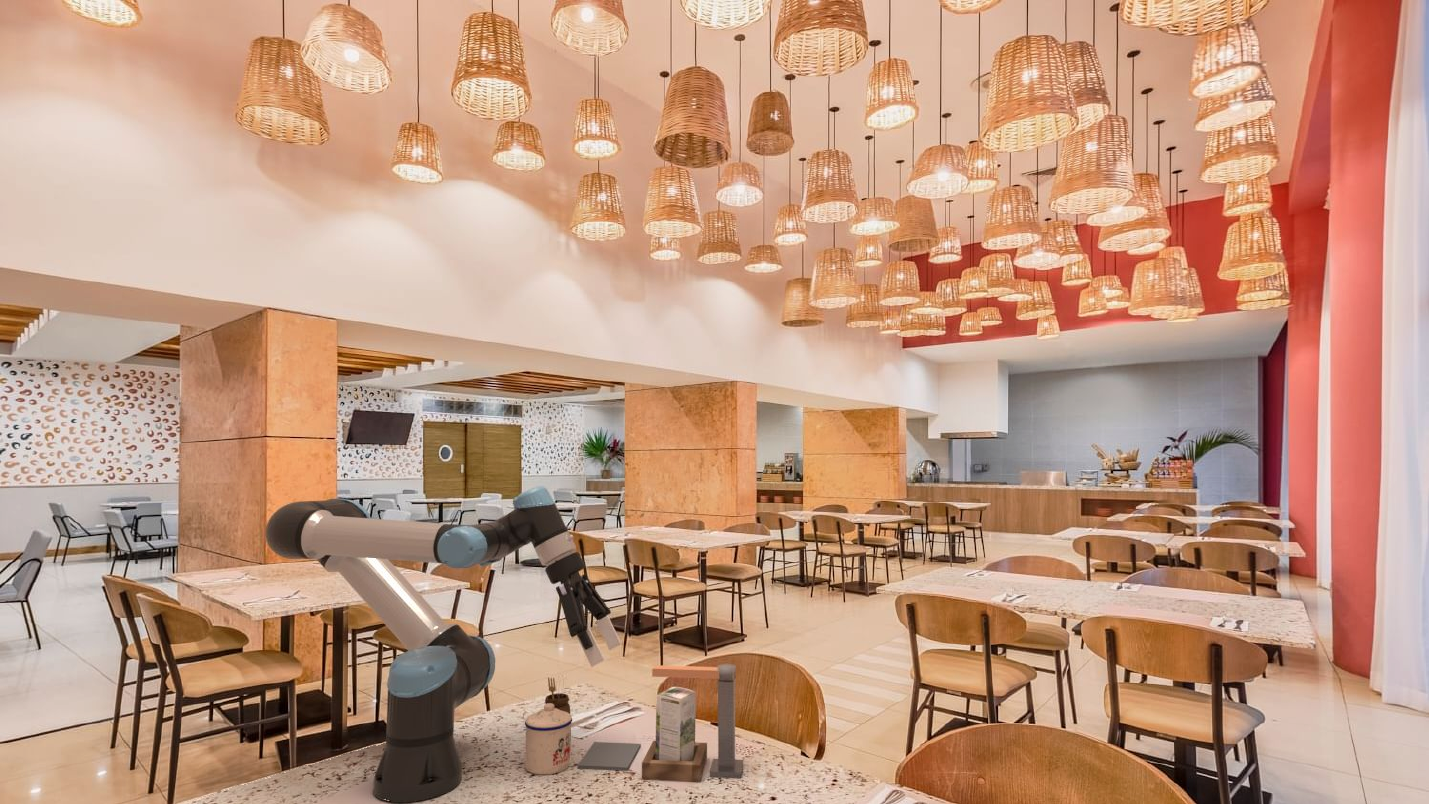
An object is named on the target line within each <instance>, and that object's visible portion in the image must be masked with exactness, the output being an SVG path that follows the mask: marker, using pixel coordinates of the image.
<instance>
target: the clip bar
mask: <svg viewBox="0 0 1429 804" xmlns="http://www.w3.org/2000/svg"><path fill="white" fill-rule="evenodd" d="M651 673H652V674H651V675H652V677H654V678H655V677H657V678H683V679H684V678H685V679H687V678H689V679H715V680H717V679H718V680H719V679H723V680H731V679H735V680H736V677H737V666H736V665H735V664H732V663H731V664H730V663H723V664H718V665H717V666H691V665H690V666H689V665H688V666H687V665H658V664H655V665H653V667H652V669H651Z"/></svg>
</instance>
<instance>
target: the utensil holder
mask: <svg viewBox="0 0 1429 804" xmlns="http://www.w3.org/2000/svg"><path fill="white" fill-rule="evenodd" d="M560 678H561V675H560V676H558V677H557V681H558V680H559V679H560ZM565 679H567V678H566V677H565V676H564V675H563V677H562V680H563V683H562V686H564V684H565ZM547 683H548V691H549V692H550V693H551V694H548V695H547V696H546V697H545V699H544V704H548V703H552V704H554V708H557V709H559V710H561V711H565V712H568V713H569V714H570V715H571V706H570V705H571V704H569V701H570V697H569V695H568V694H566V693H563V692H564V690H566V689H567V687H565V689H562V690H561V692H558V689H557V686H558V687H560V685H561V684H560V683H561V681H558V683H559V685H557V684H558V683H556V681H555V677H553V678H552V677H547ZM555 692H556V693H555Z"/></svg>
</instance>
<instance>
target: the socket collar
mask: <svg viewBox="0 0 1429 804" xmlns="http://www.w3.org/2000/svg"><path fill="white" fill-rule="evenodd" d="M655 750H656V740H652V742H651V744H650V745H649V748H648V750H647V752H646V754H645V756H644V757H643V760H642V761H641V780H647V781H648V780H649V781H663V782H665V781H666V782H668V781H669V782H687V783H689V782H690V783H701V780H702V776H703V773H704V770H705V766H706V763H707V759H708V742H699V741H698V742H697V741H695V758H694V761H693V762H689V761H666V760H655Z"/></svg>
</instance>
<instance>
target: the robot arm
mask: <svg viewBox="0 0 1429 804" xmlns="http://www.w3.org/2000/svg"><path fill="white" fill-rule="evenodd" d="M512 505H513V510H511V512H509V513H507V514H505V515H503V516H501V517H499V518H497V519H496V520H494V521H489V522H483V523H478V524H471V525H470V524H453V523H439V522H425V521H423V522H422V521H410V520H397V519H395V520H394V519H380V518H371V516H370V513H369V511H368V510H367V509H366V508H365V507H364V506H363V505H362V504H360V503H359V502H357V501H355V500H352V499H344V498H329V499H326V500H308V501H307V500H302V501H300V500H299V501H294V502H290V503H287V504H285V505H283V506H281V507H280V508H278V509H277V510H276V511H275V512H273V514H272V515H271V516H270V518H269V519H268V521H267V524H266V528H265V540H266V542H267V544H268V547H269V548H270V550H271V551H272V552H273V553H275V555H277V556H278V557H282V558H284V559H289V560H302V559H303V560H316V561H317V562H318V563H319V564H320V565H321V566H322V567H323V568H324V570H325V571H327V572H329V573H339V574H340V575H341V576H342V577H343V579H344V580H345V581H346V582H347V583H348V584H349V585H350V586H351V587H352V588H353V590H354V591H355V592H356V593H357V594H358V595H359V596H360V598H361V599H362V600H363V601H364V602H365V603H366V605H367V606H368V607H369V608H370V609H371V610H372V611H373V613H374V614H375V615H376V616H377V617H378V618H379V619H380V621H382V622H383V624H384V625H385V626H386V627H387V628H388V630H390V632H391V633H392V634H393V635H394V636H395V637H396V639H398V641H399V642H400V643H401V644H402V645H403V646H404V647H405V648H406V650H407V651H406V652H404V653H401V654H400V655H398V656H396V658H394V659H393V661H392V663H391V664H390V667H389V669H388V670H389V671H388V674H389V675H388V678H387V683H386V686H387V702H386V703H387V705H386V733H385V734H386V735H385V746H384V749H383V753H382V755H381V757H380V761H379V763H378V766H377V769H376V771H375V774H374V776H373V777H374V778H373V788H372V793H373V795H374V794H375V795H376V796H377V797H379V798H381V799H386V800H389V801H394V802H393V803H412V802H420V801H425V800H429V798H430V799H433V798H436V797H439V796H441V795H445V794H447V793H448V792H450V791H452V790H454V789H455V788H456V787H458V786H459V785H460V783H462V779H463V764H462V760H461V757H460V753H459V751H458V750H459V749H458V747H457V744H456V740H455V736H454V734H455V733H454V731H455V729H454V727H455V709H456V708H458V707H459V706H461V705H462V704H464V703H465V702H467V701H469V700H471V699H473V698H474V697H476V696H478V695H479V694H480V693H481V691H484V689H486V688H487V686H488V685H489V684H490V683H491V681H492V679H493V677H494V674H495V670H496V657H495V652H494V650H493V648H492V646H491V644H490V643H489V642H488V641H487V640H485V639H484V638H482V637H480V636H476V635H470V634H469V635H468V633H467V632H466V631H464V630H463V629H464V628H462V627H461V626H460V625H459V624H458V623H447V622H446V621H445V620H444V619H443V618H442V617H441V616H440V615H439V613H437V611H436V610H435V609H434V608H433V607H432V606H431V605H430V604H429V603H428V601H427V600H426V599H425V598H424V597H423V596H422V595H421V593H419V592H418V591H417V590H416V588H415V587H414V586H413V585H412V583H410V582H409V580H407V578H406V577H405V576H404V575H403V574H402V573H401V572H400V571H399V570H398V569H397V568H396V566H395V565H394V564H393V563H392V562H391V561H402V562H403V561H404V562H417V563H418V562H419V563H431V564H433V563H435V564H442V565H445V566H447V567H449V568H451V569H468V568H471V567H473V566H474V567H475V566H476V565H479V566H481V567H488V566H490V565H491V564H494V563H497V562H500V561H501V560H502V559H503V558H505V557H507V556H509V555H510V554H513V553H514V552H515V551H517V550H519V549H520V548H523V547H524V546H527V545H529V544H530V543H531V544H532V547H533V548H534V550H535V553H536V555H537V557H538V559H539V561H540V563H541V564H540V565H541V566H545V569H544V571H545V574H546V575H547V578H548V579H549V582H550V583H551V584H552V585H556V584H558V583H560V584H559V585H558V586H556V587H555V590H556V593H557V595H558V597H559V601H560V604H561V606H562V607H561V608H562V611H563V615H564V618H565V621H566V625H567V629H568V633H569V636H570V637H571V638H575V637H576V638H577V640H578V642H579V644H580V645H581V646H580V647H581V648H582V651H583V652H584V654H585V657H586V658H587V661H588V663H589V664H590V667H591V668H593V667H595V666H596V665H599V664H601V663H602V662H604V661H605V660H606V659H605V656H604V655H603V652H602V651H601V648H600V646H599V644H598V642H597V640H596V638H595V636H594V634H593V632H592V630H591V628H588V625H587V620H586V613H585V609H586V610H588V612H589V613H590V614H591V615H592V616H593V618H594V619H595V620H596V621H595V623H596V625H597V628H598V631H599V633H600V634H601V636H602V638H603V640H604V642H605V644H606V646H607V648H608V650H609V651H610V652H611V651H612V650H613V649H615V648H617V647H619V646H621V645H622V642H621V639H620V636H619V635H618V634H617V631H616V629H615V628H614V625H613V623H612V620H611V619H610V617H609V615H610V614H612V611H611V609H610V608H609V607H608V605H607V604H606V603H605V601H604V600H603V599H602V596H601V595H600V594H599V593H598V591H597V589H596V588H595V587H594V585H593V584H592V583H591V581H590V579H589V577H588V575H587V574H586V573H584V574H580V571H583V570H585V568H586V565H585V562H584V560H583V558H582V557H581V556H582V555H581V554H580V552H578V551H575V550H576V548H577V547H576V544H575V543H574V538H575V537H574V535H573V534H570V532H569V531H568V530H569V529H568V528H567V527H566V524H565V522H564V519H563V517H562V516H561V513H560V511H559V509H558V507H557V505H556V502H555V501H554V499H553V498H552V495H551V494H550V492H549V491H548V488H547V487H545V486H541V485H539V486H535V487H532V488H530V489H527V490H525V491H523V492H521V493H520V494H518V495H517V496H515V497H514V498H513V499H512ZM375 795H374V796H375ZM376 796H375V797H376ZM377 797H376V798H377ZM379 798H378V799H379ZM381 799H380V800H381ZM389 801H388V802H389Z"/></svg>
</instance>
